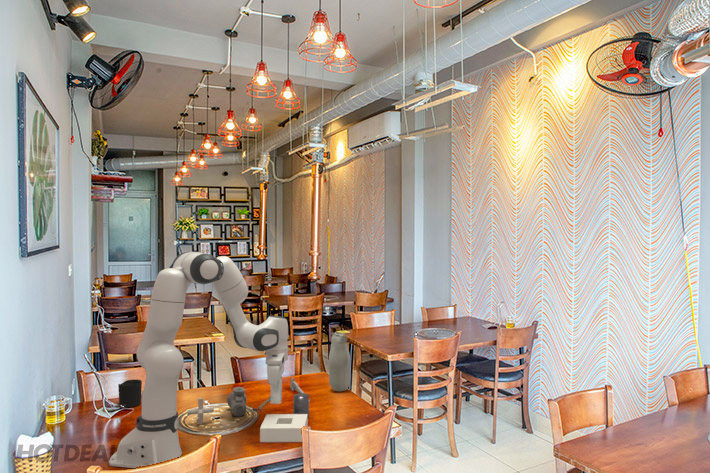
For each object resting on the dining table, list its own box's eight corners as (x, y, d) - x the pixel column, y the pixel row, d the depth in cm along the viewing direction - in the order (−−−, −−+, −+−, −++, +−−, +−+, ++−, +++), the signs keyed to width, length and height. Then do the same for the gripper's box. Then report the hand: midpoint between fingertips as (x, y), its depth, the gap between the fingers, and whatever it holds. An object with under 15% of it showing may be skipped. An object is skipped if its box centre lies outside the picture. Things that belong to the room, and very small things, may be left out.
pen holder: (116, 404, 216) (116, 381, 216) (138, 400, 221) (138, 378, 221) (120, 410, 208) (120, 387, 208) (144, 405, 214) (144, 383, 214)
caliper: (290, 390, 236) (290, 377, 236) (292, 389, 237) (292, 376, 237) (308, 402, 218) (308, 388, 218) (310, 402, 219) (310, 388, 219)
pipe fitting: (226, 407, 210) (228, 384, 209) (245, 407, 213) (247, 384, 212) (227, 420, 199) (230, 396, 198) (247, 419, 201) (250, 396, 200)
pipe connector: (186, 429, 187) (186, 403, 187) (188, 420, 197) (188, 395, 197) (213, 426, 190) (213, 401, 190) (213, 417, 199) (213, 393, 199)
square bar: (270, 403, 195) (270, 378, 195) (272, 400, 199) (272, 376, 199) (280, 403, 195) (280, 378, 195) (281, 400, 199) (282, 376, 199)
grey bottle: (353, 389, 236) (353, 332, 236) (342, 395, 227) (342, 335, 227) (336, 386, 241) (336, 330, 241) (325, 391, 232) (324, 333, 233)
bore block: (260, 442, 175) (260, 428, 175) (266, 427, 189) (266, 414, 189) (304, 441, 176) (304, 428, 176) (307, 426, 190) (307, 414, 190)
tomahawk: (266, 414, 206) (266, 412, 206) (251, 412, 207) (251, 409, 207) (285, 397, 227) (285, 395, 227) (271, 395, 228) (271, 392, 228)
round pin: (292, 420, 196) (292, 398, 196) (294, 414, 203) (294, 393, 203) (308, 420, 196) (308, 398, 196) (309, 414, 203) (309, 393, 203)
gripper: (273, 349, 208) (272, 382, 207) (264, 361, 187) (264, 397, 187) (287, 349, 208) (287, 382, 208) (281, 361, 187) (280, 397, 187)
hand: (276, 389), depth 197 cm, fingers closed on square bar, 4 cm apart
